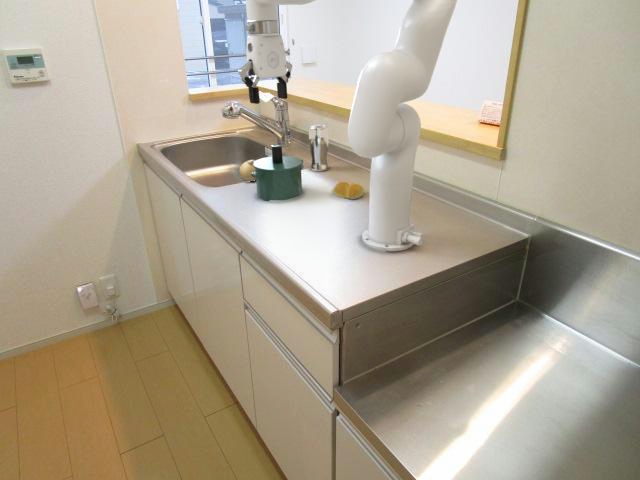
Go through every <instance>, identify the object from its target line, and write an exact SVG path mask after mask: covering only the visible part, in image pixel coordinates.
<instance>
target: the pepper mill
mask: <svg viewBox="0 0 640 480" xmlns="http://www.w3.org/2000/svg"><path fill="white" fill-rule="evenodd" d="M329 144H330V134H329V126H328V125H326V124H312V125H309V126H308V145H309V150H310V155H311V165H310V169H311V171H313V172H326V171H327V170H328V169H329V165H328V151H329Z"/></svg>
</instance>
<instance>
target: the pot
mask: <svg viewBox="0 0 640 480" xmlns="http://www.w3.org/2000/svg"><path fill="white" fill-rule="evenodd" d="M301 160H302V164H304V160H303V159H301ZM251 176H252V177H255V178H256V180H255V181H256V182H255V183H256V193H257V198H259V199H260V200H262V201H265V202H271V201H287V200H291V199H295V198H298V197H300V196H301V195H302V194H303V181H302V180H303V179H302V165H301V166H299V167H297V168H295V169H291V170H286V171H263V170H259V169H256V168H255V172H254V173H251Z"/></svg>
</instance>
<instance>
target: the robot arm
mask: <svg viewBox="0 0 640 480" xmlns="http://www.w3.org/2000/svg"><path fill="white" fill-rule="evenodd" d="M315 1H316V0H245V9H246V10H245V11H246V21H247V24H245V26H244V29H245V31H247V32H248V36H246V47H245V48H246V50H245V52H246V53H245V54H246V63H244V64H243V65H242V66H241V67H240V68H239V69H238V70H237V73H238V74H239V77H240V79H241V81H242V82H243V83H244V84H245V87H246V88H248V96H249V98H248V99H249V103H250V104H254V105H259V104H260V103H261V101H260V100H261V99H260V89H259V87H257V86H258V84H259V81H260V80H265V79H274V78H275V79H276V80H277V82H276V91H277V98H278V99H283V100H286V99H288V86H287V85H288V83H289V79H290V77H291V74H292V73H291V72H292V70H293V63H291V62H289V61H287V56H286V55H287V54H286V48H285V43H284V40H283V35H282V34H280V31H279V17H278V16H279V15H278V14H279V13H278V6H288V5H289V6H303V5H307V4H310V3H313V2H315ZM457 2H458V0H413V1H412V3H411V4H410V6H409V8H408V9H407V11H406V13H405V14H404V16H403V18H402V21H401V24H400V27H399V30H398V35H397V38H396V42H395V44H394V47H393V49H392V51H387V52H381V53H379V54H376V55H374V56H373V57H371V58H370V59H369V60H368V61H367V63H366V64H365V65H364V67H363V68H362V70H361V72H360V74H359V77H358V81H357V85H356V89H355V93H354V98H353V102H352V105H351V109H350V114H349V118H348V125H347V140H348V141H347V142H348V144H349V146H350V148H351V150H352V152H353V153H354V154H355V155H357V156H358V157H361V158H364V159H371V163H370V172H369V173H370V174H369V175H370V176H369V207H368V211H369V212H368V213H369V214H368V228H366V230H364V231H363V232H362V235H361V237H362V238H361V239H362V240H361V241H362V242H363V243H364V244H365V245H367V246H368V247H371V248H374V249H376V250H382V251H386V252H401V251H405V250H409V249H411V248H412V247H413V246H414V245H415V246H418V247H421V246H422V244H423V243H424V242H423V241H424V239H423V238H424V234H423V233H422V232H417V231H415V224H414V223H412V222H411V213H412V198H413V183H414V173H415V171H414V170H415V162H416V154H417V149H418V146H419V142H420V137H421V133H422V132H421V131H422V123H421V118H420V116H419V113H418V112H417V110H416V109H415V108H414V107H413V106H411V105H409V104H408V103H407V102H411V101H414V100H416V99H419V98H421V97H422V96H424V94H426V92H427V91H428V88H429V86H430V84H431V81H432V77H433V74H434V72H435V68H436V65H437V62H438V59H439V57H440V53H441V51H442V50H441V49H442V47H443V44H444V39H445V36H446V34H447V30H448V27H449V25H450V22H451V19H452V17H453V14H454V12H455V9H456V5H457Z"/></svg>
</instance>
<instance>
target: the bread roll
mask: <svg viewBox="0 0 640 480" xmlns="http://www.w3.org/2000/svg"><path fill="white" fill-rule="evenodd" d="M363 195H364V188H363V186H362V185H361V184H360V183H354V182H352V183H348V182H346V181H340V182H338V183H336V184H335V186H334V187H333V189H332V196H335V197H337V198H341V199H347V200H357V199H359V198H361V197H363Z"/></svg>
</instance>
